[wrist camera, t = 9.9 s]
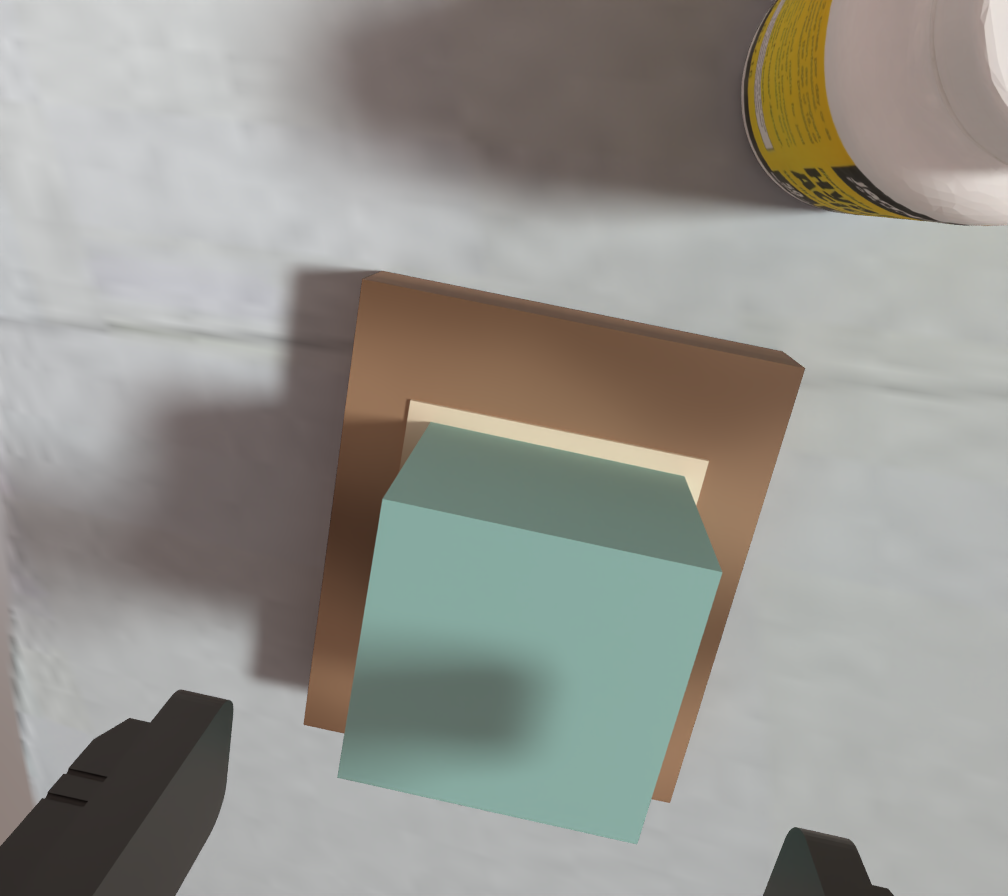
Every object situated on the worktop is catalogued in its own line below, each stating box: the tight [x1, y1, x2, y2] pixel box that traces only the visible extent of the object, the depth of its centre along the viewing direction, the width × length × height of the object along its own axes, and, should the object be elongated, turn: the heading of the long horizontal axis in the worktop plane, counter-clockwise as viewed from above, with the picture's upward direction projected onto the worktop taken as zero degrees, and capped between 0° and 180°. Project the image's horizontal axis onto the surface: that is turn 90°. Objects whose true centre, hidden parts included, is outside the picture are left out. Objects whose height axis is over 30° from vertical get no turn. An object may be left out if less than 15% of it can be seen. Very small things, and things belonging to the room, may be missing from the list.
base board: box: [304, 271, 805, 803], centre depth 21 cm, size 12×10×2 cm
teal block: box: [337, 422, 722, 844], centre depth 17 cm, size 6×6×5 cm
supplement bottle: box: [741, 0, 1008, 226], centre depth 13 cm, size 5×5×10 cm
